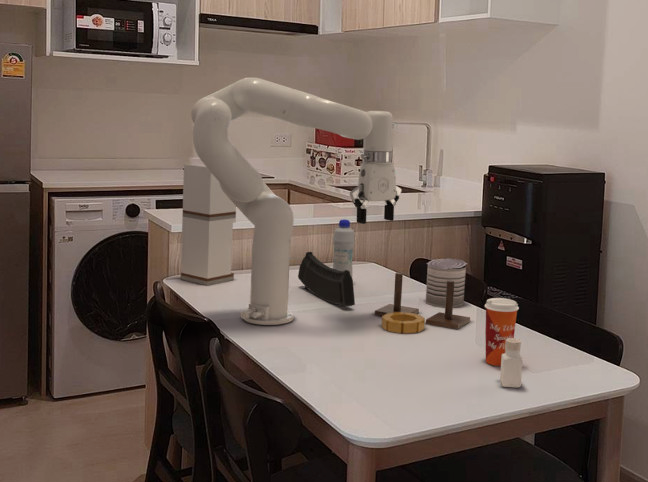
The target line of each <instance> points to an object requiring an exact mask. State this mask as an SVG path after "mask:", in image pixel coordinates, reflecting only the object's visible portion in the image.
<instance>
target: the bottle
mask: <svg viewBox="0 0 648 482" xmlns="http://www.w3.org/2000/svg"><path fill="white" fill-rule="evenodd" d="M333 232H334V233H333V237H332V241H333V260H332V261H333V263H332V268H333V269H336V270H339V271H345V270H348V271H350V275H351V277H352V278H353V259H354V247H355V241H356V239H355V230H354V229H353V228H351V222H350V220H348V219H346V218H345V219H340V220H339V222H338V227H336V228H335V229H334V231H333Z"/></svg>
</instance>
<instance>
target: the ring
mask: <svg viewBox="0 0 648 482" xmlns="http://www.w3.org/2000/svg"><path fill="white" fill-rule="evenodd" d="M425 325H426V318H425V317H424V316H422V315H421V314H419V313H418V314H413V313H407V312H406V313H403V312H394V313H387V314H385V315H383V316H381V327H382V328H383V330H384V331H387V332H391V333H395V334H417V333H420V332H422V331H424V330H425Z"/></svg>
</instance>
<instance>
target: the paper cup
mask: <svg viewBox="0 0 648 482" xmlns="http://www.w3.org/2000/svg"><path fill="white" fill-rule="evenodd" d="M518 305H519V304H518V303H517V301H515V300H513V299H511V298H504V297H492V298H488V299H487V300H486V302H485V304H484V308H485V331H484V335H485V362H486V364H488V365H491V366H494V367H495V366H496V367H501V358H502V354H504V353H505V341H506V339H508V338H514V339H515V331H516V321H517V314H518V310H519V309H520V307H519V306H518Z"/></svg>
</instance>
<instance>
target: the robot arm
mask: <svg viewBox="0 0 648 482" xmlns="http://www.w3.org/2000/svg"><path fill="white" fill-rule="evenodd" d="M251 112H252V113H255V114H258V115H260V116H261V115H262V116H264V117H265V116H266V117H268V118H271V119H276V120H278V121H282V122H285V123H289V124H293V125H296V126H299V127H304V128H313V129H317V130H321V131H326V132H330V133H333V134H337V135H339V136H340V137H343V138H346V139H353V140H357V141H360V140H363V148H362V149H363V151H362V152H363V153H361V155H360V158H361V160H362V162H361V164H360V168H359V174H358V182H357V186H356V187H355V188H353V189H352V190H351V191H349V196H350V199H351V203H352V204H353V205H354V207H355V208H356V223H358V224H362V225H365V224H367V212H368V211H367V208H366V206H367V205H368V203H370V202H382V201H384V203H385V204H384V206H383V208H384V210H383V211H384V212H383V219H384V220H385V221H390V222H393V221H394V220H395V206H396V205H397V203H398V201H399V199H400V196H401V193H402V192H403V191H402V190H403V189H402V188H401V187H399V186H398V185H397V179H396V168H395V164H394V162H392V159H393V158H392V157H393V153H392V151H393V129H394V127H393V126H394V125H393V124H394V117H393V114H392V113H391V112H390V111H386V110H369V111H364V110H362V109H358V108H355V107H352V106H349V105H345V104H342V103H339V102H335V101H332V100H329V99H326V98H322V97H319V96H318V95H316V94H315V95H314V94H312V93H309V92H305V91H302V90H300V89H299V90H298V89H295V88H292V87H289V86H286V85H283V84H279V83H276V82H273V81H270V80H266V79H264V78H260V77H244V78H241V79H238V80H237V81H235V82H233V83H231V84H230V85H227V86H224V87H223V88H221V89H218V90H217V91H215V92H212V93H210V94H208V95H206V96H204V97H201V98H200V99H199V100H197V101H196V102H195V103H194V104H193V106H192V108H191V112H190V117H191V120H192V123H193V127H192V143H193V147H194V151H195V153H196V154H197V157H198V158H199V159H200V161H201V162H202V163H203V164H204V166H206V167H207V168H208V169H209V170H210V172H211V173H212V174H213V175H214V176H215V178H216V179H217V180H218V181H219V182H220V186H221V189H222V190H223V192H224V193H225V194H226V195H227V197H228V198H229V199H230V200H231V201H232V202H233V203H234V204H235V205H236V209H237V208H238V210H239V211H240V212H241V213H242V214H243V216H245V218H246V219H247V220H248V221H249V222H250V223H251V224H252V225H254V228H253V237H252V244H251V245H252V246H251V270H250V275H251V276H250V295H249V296H250V300H249V303H248V308H247V309H245V310H242V311H241V312H239V317H240V318H241V319H243V320H244V321H245V322H247V323H250V324H252V325H253V324H254V325H260V326H276V325H277V326H278V325H284V324H288V323H291V322H292V321H293V320H294V313H293V312H291V311H290V310H288V308H289V287H290V286H289V285H290V266H291V265H290V263H291V261H290V260H291V258H290V257H291V243H292V234H293V228H294V221H295V219H294V213H293V209H292V208H291V205H290V204H289V202H287V201H286V200H285V199H283V198H282V197H281V196H278V195H276V194H275V193H274V192H273V191H272V190H271V188H270V187H269V186H268V185H267V184H266V183H265V182H264V180H263V178H262V177H263V176H262V175H261V173H260V172H259V170H258V169H257V168H255V167H254V166H253V165H252V164H251V163H250V162H249V161H248V160H247V159H246V157H245V156H244V155H243V154H242V153H241V152H240V151H239V149H238V148H237V147H236V146H235V145H234V143H233V142H232V141H231V138H230V135H229V129H230V128H229V127H230V126H231V123H232V122H233V121H235V120H237V119H239V118H241V117H243V116H245V115H246V114H248V113H251Z"/></svg>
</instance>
